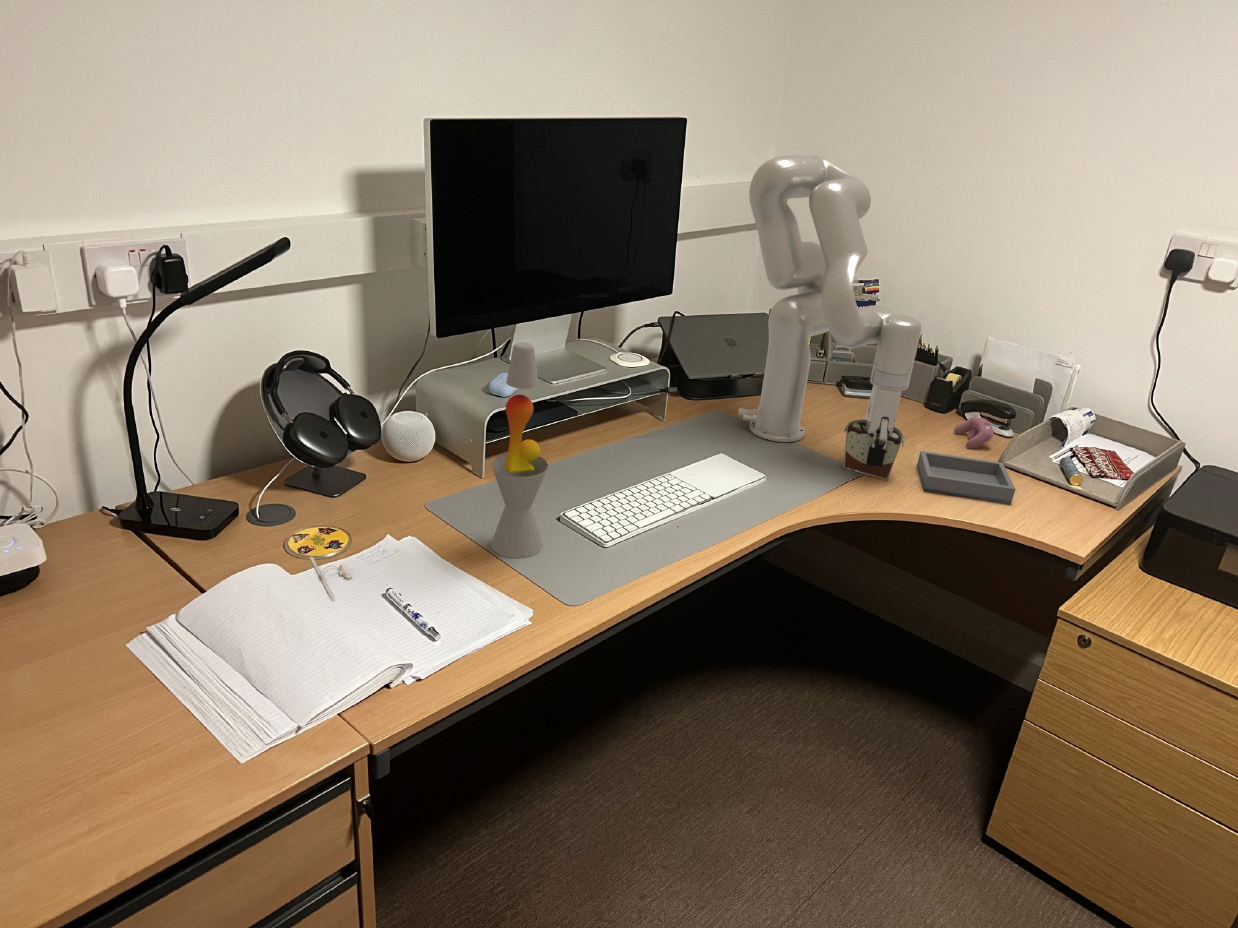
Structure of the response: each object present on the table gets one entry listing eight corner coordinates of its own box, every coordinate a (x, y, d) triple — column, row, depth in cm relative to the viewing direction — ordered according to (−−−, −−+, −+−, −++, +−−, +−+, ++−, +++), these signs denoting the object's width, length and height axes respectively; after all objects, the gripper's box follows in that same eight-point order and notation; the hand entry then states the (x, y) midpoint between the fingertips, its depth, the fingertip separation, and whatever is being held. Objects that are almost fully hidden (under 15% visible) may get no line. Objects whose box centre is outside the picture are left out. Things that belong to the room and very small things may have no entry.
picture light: (308, 559, 139) (307, 547, 139) (335, 553, 142) (335, 542, 141) (332, 605, 129) (331, 593, 128) (361, 598, 131) (361, 586, 130)
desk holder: (923, 491, 179) (927, 476, 177) (916, 465, 190) (920, 450, 189) (1010, 504, 176) (1015, 489, 175) (998, 477, 188) (1002, 462, 186)
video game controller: (980, 456, 202) (1001, 432, 199) (965, 447, 201) (985, 423, 198) (965, 439, 210) (985, 416, 208) (950, 430, 210) (970, 407, 207)
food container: (900, 470, 187) (911, 427, 182) (894, 481, 182) (905, 438, 177) (843, 455, 191) (852, 413, 187) (836, 466, 186) (845, 423, 182)
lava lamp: (498, 562, 142) (503, 355, 127) (483, 535, 149) (486, 336, 134) (551, 554, 146) (562, 352, 131) (534, 527, 153) (542, 334, 138)
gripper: (869, 362, 185) (853, 440, 193) (874, 389, 170) (856, 472, 177) (905, 367, 184) (888, 445, 192) (914, 394, 169) (894, 478, 176)
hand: (873, 457), depth 184 cm, fingers closed on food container, 6 cm apart
